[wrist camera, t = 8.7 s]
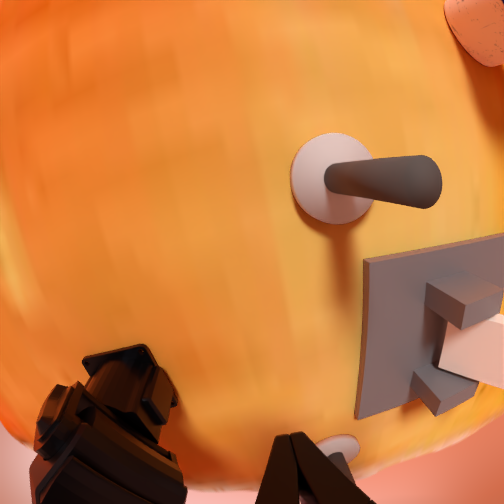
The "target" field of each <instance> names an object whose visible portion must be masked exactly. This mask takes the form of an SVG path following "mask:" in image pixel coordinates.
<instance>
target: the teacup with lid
mask: <svg viewBox="0 0 504 504" xmlns="http://www.w3.org/2000/svg"><path fill="white" fill-rule="evenodd" d="M444 11H445V15H446V19H447V21H448V23H449V26H450V28H451V30H452V31H453V33H454V35H455V36H456V38H457V39H458V41H459V42H460V44H461V45H462V46H463V47H464V49H465V50H466V51H467V52H468V53H469V54H470V55H471V56H472V57H473V58H474V59H475V60H477V61H478V62H479V63H481V64H483V65H485V66H488V67H494V66H498V65H501V64H504V0H446V1H445V4H444Z"/></svg>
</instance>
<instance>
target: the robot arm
mask: <svg viewBox="0 0 504 504" xmlns="http://www.w3.org/2000/svg"><path fill="white" fill-rule="evenodd" d="M140 349H142V350H144V352H142V351H140ZM86 361H87V362H89V363H87V362H86ZM82 364H83V366H84V367H85V369H86V371H87V372H88V374H89V375H90V378H89V379H88V381H87V383H86V385H85V386H83V385H82V384H81V383H80V382H79V381H77V382H76V383H75V384H74V385H72V386H70V387H68V386H62V385H59V384H57V385H56V386H55V387H54V388H53V389H52V391H51V392H50V394H49V395H48V397H47V398H46V400H45V402H44V403H43V405H42V408H41V410H40V413H39V416H38V419H37V422H36V424H37V425H36V432H35V440H34V451H35V452H36V453H38V454H37V456H36V458H35V459H34V461H33V462H32V464H31V466H30V469H29V474H30V487H31V497H32V504H185V502H186V497H187V493H188V491H187V487H186V486H184V483H183V476H182V472H181V470H180V468H179V466H178V463H177V459H176V455H175V454H173V453H172V452H170V451H166V450H165V449H163V448H162V447H160V446H159V445H157V444H158V442H159V437H160V432H161V427H162V425H166V423H167V421H168V416H169V411H170V408H172V407H176V406H177V403H178V399H177V398H176V396H175V394H174V393H173V388H172V386H171V384H170V382H169V381H168V379H167V377H166V376H165V374H164V372H163V370H162V368H161V367H160V366H158V365H157V363H156V362H155V360H154V358H153V356H152V354H151V352H150V351H149V349H148V347H147V346H146V345H145V344H137V345H133V346H129V347H125V348H120V349H116V350H112V351H108V352H103V353H99V354H94V355H90V356H85V357H84V358H83V360H82ZM171 401H173V402H171ZM299 499H300V501H299ZM300 502H301V504H376V503H375V502H374V501H373V500H370V498H369V497H368V496H367V495H366V494H365V493H364V492H363V491H362V490H361V489H359V487H357V486H356V485H355V484H354V483H353V482H352V481H351V480H350V479H349V478H348V477H347V476H346V475H345V474H344V473H343V472H342V471H341V470H340V469H339V468H338V467H337V466H336V465H335V464H334V463H333V462H332V461H331V460H330V459H329V458H328V457H327V456H326V455H325V454H324V453H323V452H322V451H321V450H320V449H319V448H318V447H317V446H316V445H315V444H314V443H313V442H312V441H311V440H310V438H309V437H308V436H307V435H306V434H305V433H304V432H302V431H300V432H294V433H290V434H282V435H277V436H275V439H274V442H273V446H272V449H271V453H270V456H269V460H268V463H267V467H266V470H265V473H264V477H263V480H262V483H261V486H260V489H259V493H258V496H257V499H256V502H255V504H300Z"/></svg>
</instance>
